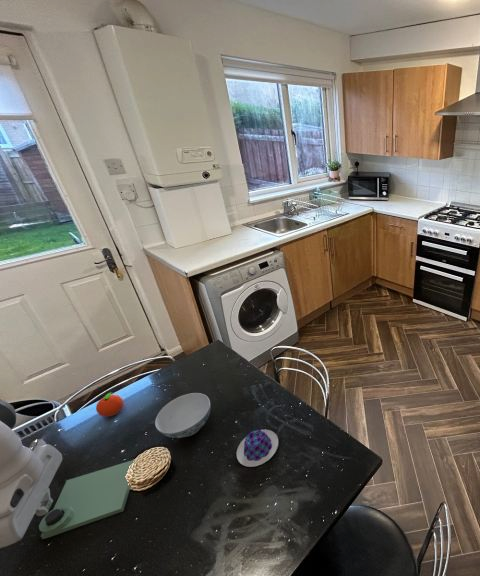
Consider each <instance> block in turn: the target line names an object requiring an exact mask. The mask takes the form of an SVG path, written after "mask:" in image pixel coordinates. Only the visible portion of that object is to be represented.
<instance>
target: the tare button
mask: <svg viewBox="0 0 480 576" xmlns="http://www.w3.org/2000/svg"><path fill="white" fill-rule="evenodd" d="M52 510H53V509H52ZM52 510H51V512H50V511H49V512H50V513H49V512H48V513H49V514H48V513H47V514H48V515H47V514H46V515H47V516H46V515H45V516H46V518H45V521H46V522H47V523H48V524H49V525H53V524H55V523H57V522H58V521H60V520H61V518H62V517H63V515H64V514H63V512H62V511H61V510H60V509H55V510H53V511H52Z"/></svg>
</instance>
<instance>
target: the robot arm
mask: <svg viewBox="0 0 480 576" xmlns="http://www.w3.org/2000/svg"><path fill="white" fill-rule="evenodd" d="M16 424H17V413H16V409H15V407H14V406H13V405H12V404H11V403H9V402H8V401H5V400H2V399H0V549H2V548H6V547H8V546H11V545H14V544H15V543H18V542H20V541H21V540H22V539H23V538H24V537H25V535H26V532H27V530H28V528H29V526H30V525H31V522H32V520H33V518H34V516H35V515H36V517H41V516H46V515H47V514H48V513H49V511H50V509H51V507H52V504H53V503H54V499H53V498H52V497H51V490H50V488H49V487H50V485H51V483H52V481H53V479H54V477H55V475H56V474H57V471H58V470H59V468H60V466H61V463H62V462H63V454H62V453H61V451H59V450H58V449H57V448H56V447H54V446H53V445H51V444H49V443H47V442H45V440H44V439H43V438H38V439H35V440H33V441H32V442H31V443H30V444H29V446H28V447H27V446H24V445H23V443H22V439H21V437H20V436H19V435H18V434H17V433H16V432H15V431H14V430H13V428H14V427H15V426H16Z"/></svg>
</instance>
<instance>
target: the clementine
mask: <svg viewBox="0 0 480 576" xmlns="http://www.w3.org/2000/svg"><path fill="white" fill-rule="evenodd" d="M123 407H124V400H123V398H122V397H121V396H120V395H117V394H115V393H114V392H109V393H107V394H105V395H104V396H103V397H102V398H101V399H100V400H98V402H97V403H96V405H95V411H96V413H97V414H98V415H99V416H101V417H107V418H108V417H113V416H115V415H117V414H118V413H120V412H121V411H122V409H123Z"/></svg>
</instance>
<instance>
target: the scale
mask: <svg viewBox="0 0 480 576" xmlns="http://www.w3.org/2000/svg"><path fill="white" fill-rule="evenodd" d="M134 460H135V459H132V460H128V461H125V462H122V463H119V464H115V465H112V466H109V467H106V468H103V469H99V470H95V471H93V472H89V473H86V474H83V475H80V476H77V477H74V478H69V479H67V480H66V481H65V483H64V485H63V487H62V490H61V492H60V494H59V496H58V498H57V501H56V502H55V505H54V507H53V509H52V510H51V511H53V510H55V509H60V510H61V511H62V512H63V514H64V515H63V517H62V518H61V520H60V521H58V522H57V523H55V524H53V525H49V524H48V523H47V522H46V521H45V518H46V516H47V515H48V514H49V513H50V512H51V511H50V510H49V511H48V513H47V514H45V515H44V517H43V518H42V519H40V520H41V521H40V522H39V525H38V528H39V529H38V530H39V532H41V534H40V538H41V539H43V540H45V539H48V538H52V537H54V536H57V535H60V534H62V533H65V532H68V531H72V530H74V529H77V528H80V527H82V526H86V525H88V524H91V523H94V522H96V521H100V520H102V519H105V518H109V517H112V516H114V515H116V514H119V513H122V512H124V510H125V507H126V503H127V500H128V498H129V494H130V490H131V486H132V484H131V485H130V484H129V486H128V482H127V480H126V478H125V476H126V474H127V471H128V469H129V466H130V465H131V464H132V463H133V461H134Z"/></svg>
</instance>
